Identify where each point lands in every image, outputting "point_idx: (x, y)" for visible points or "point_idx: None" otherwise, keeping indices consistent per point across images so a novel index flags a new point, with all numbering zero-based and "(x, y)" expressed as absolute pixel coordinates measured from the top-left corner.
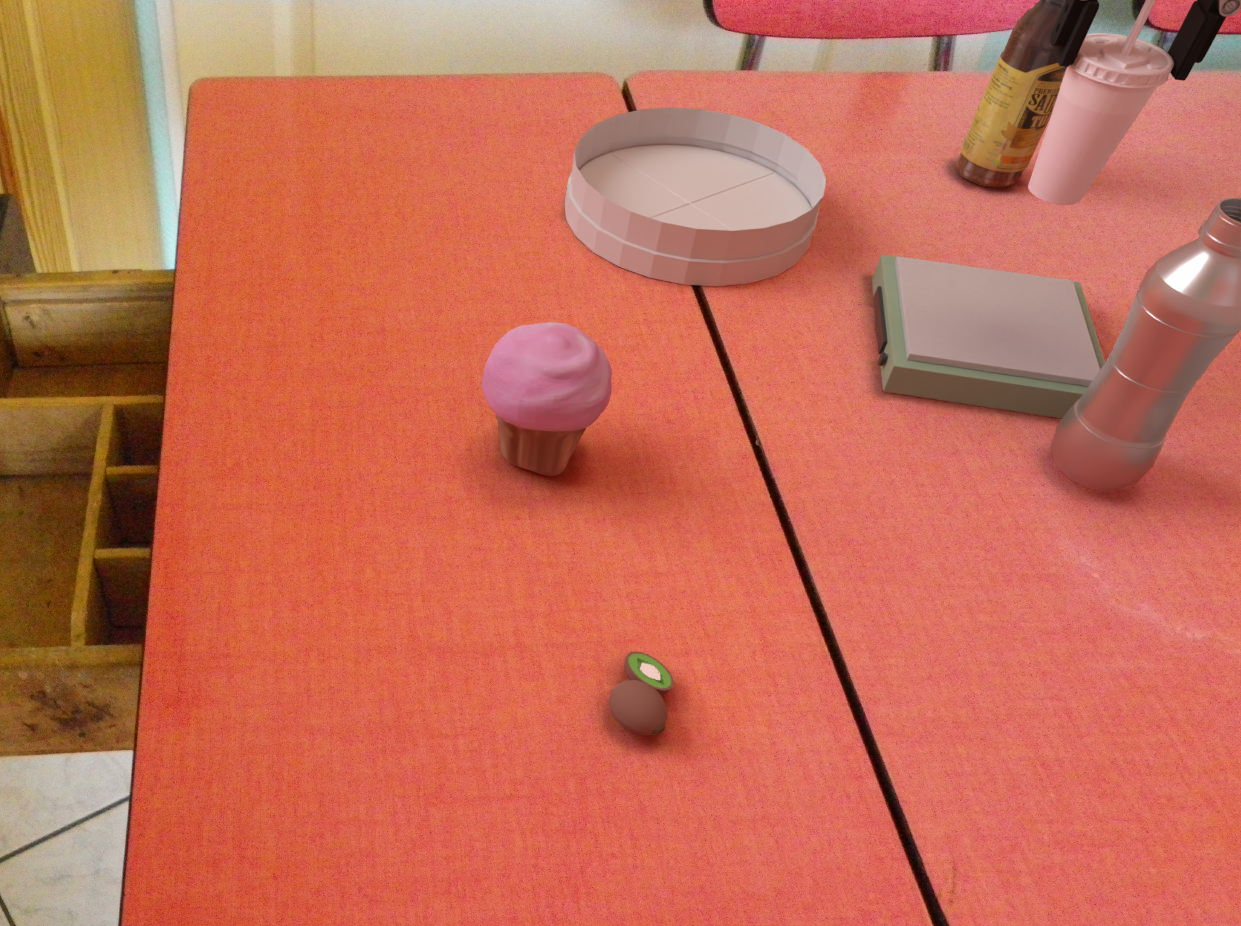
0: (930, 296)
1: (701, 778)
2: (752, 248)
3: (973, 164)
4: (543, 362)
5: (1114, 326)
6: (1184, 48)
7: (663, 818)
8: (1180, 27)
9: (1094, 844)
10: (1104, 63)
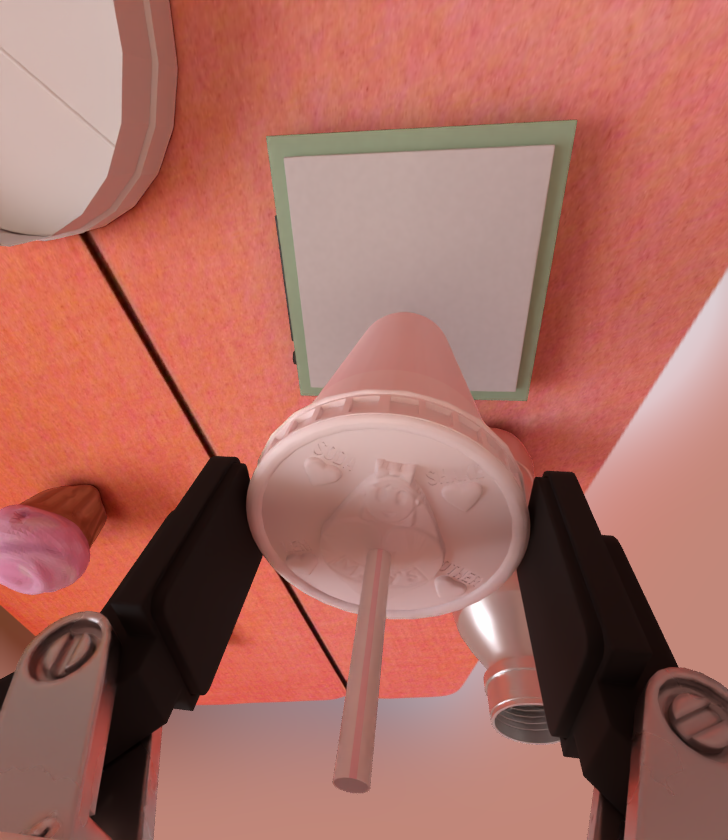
0: (332, 263)
1: (249, 651)
2: (96, 213)
3: None
4: (18, 591)
5: (624, 159)
6: (532, 607)
7: (239, 663)
8: (559, 549)
9: (414, 665)
10: (326, 582)
